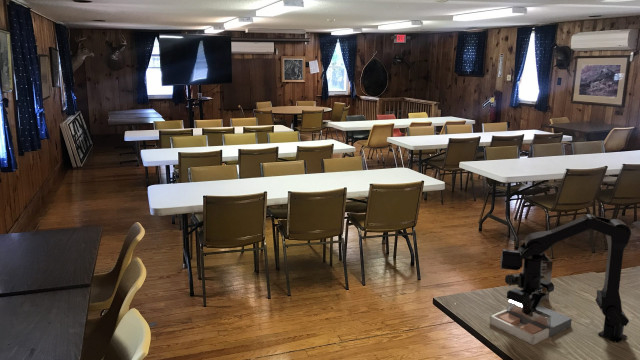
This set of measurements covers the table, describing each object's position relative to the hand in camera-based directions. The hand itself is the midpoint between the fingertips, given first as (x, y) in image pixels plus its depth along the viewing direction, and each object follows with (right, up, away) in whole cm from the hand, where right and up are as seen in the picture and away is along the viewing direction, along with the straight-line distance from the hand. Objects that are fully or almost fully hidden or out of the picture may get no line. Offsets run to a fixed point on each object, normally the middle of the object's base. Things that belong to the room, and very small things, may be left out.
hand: (528, 313), depth 173 cm
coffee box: (+12, 0, +24) cm, 27 cm away
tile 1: (-6, -4, +2) cm, 8 cm away
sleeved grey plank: (0, -1, 0) cm, 2 cm away
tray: (-4, -5, -2) cm, 7 cm away
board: (+5, -4, +4) cm, 8 cm away
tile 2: (-1, -5, -5) cm, 7 cm away
